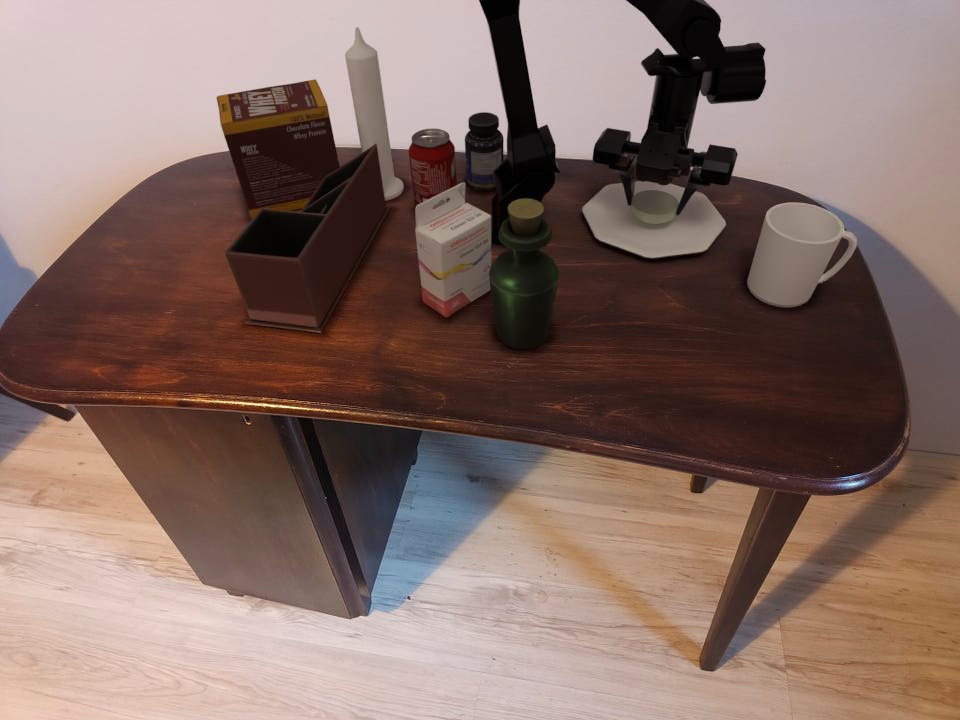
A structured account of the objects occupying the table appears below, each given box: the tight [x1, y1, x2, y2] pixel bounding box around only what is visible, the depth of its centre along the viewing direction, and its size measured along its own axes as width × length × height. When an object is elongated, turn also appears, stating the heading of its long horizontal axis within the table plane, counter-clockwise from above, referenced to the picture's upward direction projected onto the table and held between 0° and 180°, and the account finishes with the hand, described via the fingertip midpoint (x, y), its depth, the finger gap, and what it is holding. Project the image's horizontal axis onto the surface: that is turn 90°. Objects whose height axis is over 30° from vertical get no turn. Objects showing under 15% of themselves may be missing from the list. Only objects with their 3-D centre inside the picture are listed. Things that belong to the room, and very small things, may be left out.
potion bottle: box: [489, 199, 560, 351], centre depth 73 cm, size 8×8×18 cm
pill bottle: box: [464, 111, 505, 193], centre depth 101 cm, size 6×6×11 cm
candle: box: [344, 26, 405, 202], centre depth 96 cm, size 7×7×25 cm
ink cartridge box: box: [414, 182, 492, 319], centre depth 80 cm, size 9×5×15 cm, turn 134°
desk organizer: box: [224, 144, 391, 334], centre depth 87 cm, size 10×29×11 cm, turn 168°
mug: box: [746, 201, 858, 309], centre depth 80 cm, size 11×9×10 cm
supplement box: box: [215, 78, 340, 219], centre depth 99 cm, size 10×15×16 cm
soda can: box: [408, 128, 458, 210], centre depth 96 cm, size 7×7×12 cm
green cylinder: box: [630, 190, 679, 224], centre depth 94 cm, size 7×7×2 cm
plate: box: [581, 180, 727, 260], centre depth 95 cm, size 20×20×2 cm
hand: (653, 209), depth 94 cm, fingers closed on green cylinder, 7 cm apart
